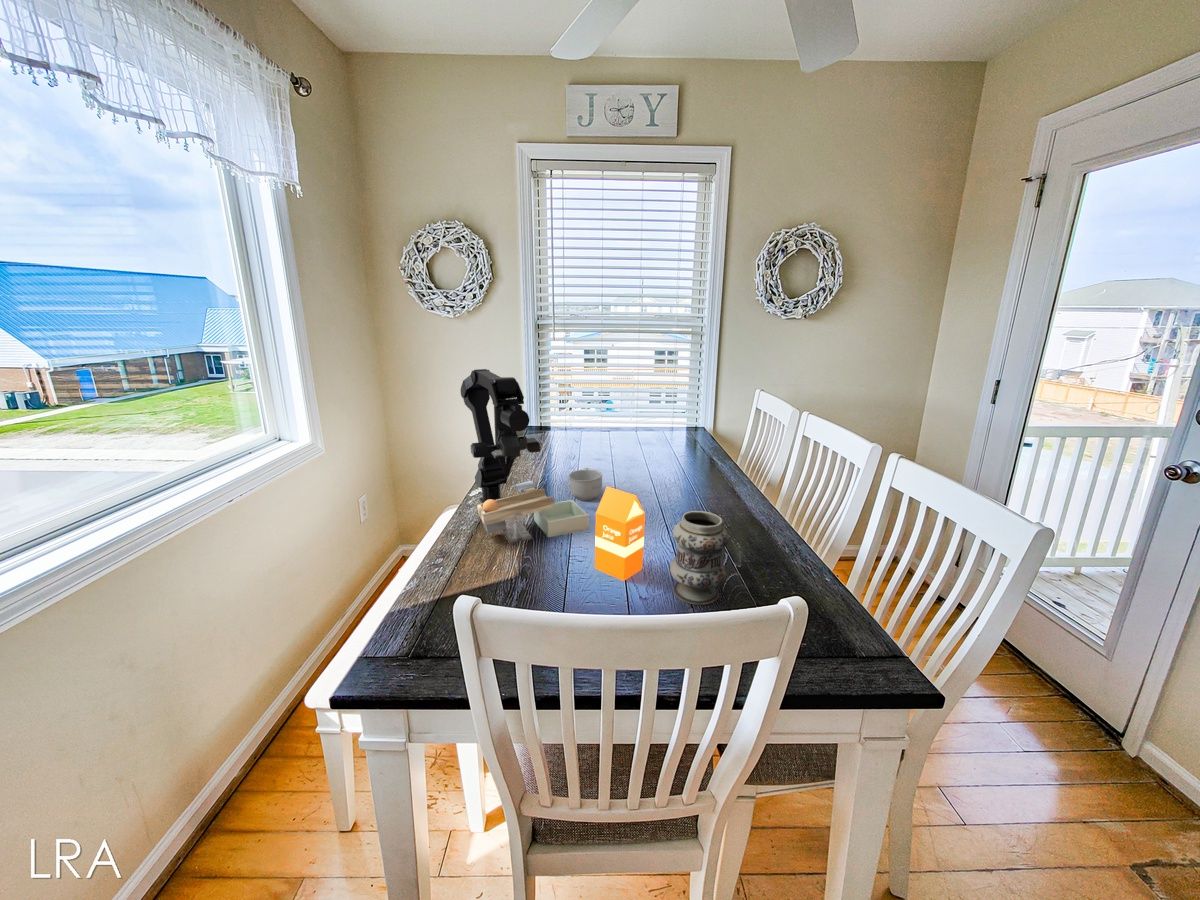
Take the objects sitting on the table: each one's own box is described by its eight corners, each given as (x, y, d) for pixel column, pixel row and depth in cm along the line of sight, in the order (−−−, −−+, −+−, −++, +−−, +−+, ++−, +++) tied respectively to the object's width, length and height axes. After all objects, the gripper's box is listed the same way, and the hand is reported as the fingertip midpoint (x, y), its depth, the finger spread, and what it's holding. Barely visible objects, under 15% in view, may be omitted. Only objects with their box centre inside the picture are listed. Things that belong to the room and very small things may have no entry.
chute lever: (472, 510, 143) (469, 492, 141) (535, 495, 151) (532, 476, 149) (486, 535, 129) (483, 514, 127) (555, 516, 136) (552, 497, 134)
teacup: (598, 504, 156) (598, 481, 154) (564, 501, 158) (564, 477, 156) (606, 489, 170) (606, 467, 167) (575, 486, 172) (575, 464, 169)
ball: (482, 512, 132) (480, 499, 131) (496, 509, 134) (495, 495, 133) (485, 518, 129) (483, 504, 128) (500, 514, 131) (498, 500, 129)
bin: (534, 520, 144) (533, 505, 143) (572, 513, 149) (572, 499, 148) (548, 537, 134) (547, 522, 133) (588, 529, 139) (588, 515, 138)
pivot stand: (499, 527, 139) (498, 502, 137) (520, 523, 142) (519, 499, 140) (509, 543, 130) (508, 516, 128) (531, 538, 133) (530, 513, 131)
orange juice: (614, 556, 125) (616, 482, 119) (642, 568, 120) (646, 491, 114) (594, 568, 119) (595, 490, 113) (623, 581, 114) (626, 500, 108)
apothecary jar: (715, 578, 116) (722, 507, 111) (730, 608, 105) (739, 530, 99) (664, 577, 116) (669, 506, 111) (673, 608, 104) (679, 530, 99)
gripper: (475, 432, 127) (478, 490, 131) (546, 427, 134) (546, 481, 138) (468, 423, 136) (471, 476, 141) (534, 418, 143) (535, 469, 148)
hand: (506, 476), depth 142 cm, fingers closed
